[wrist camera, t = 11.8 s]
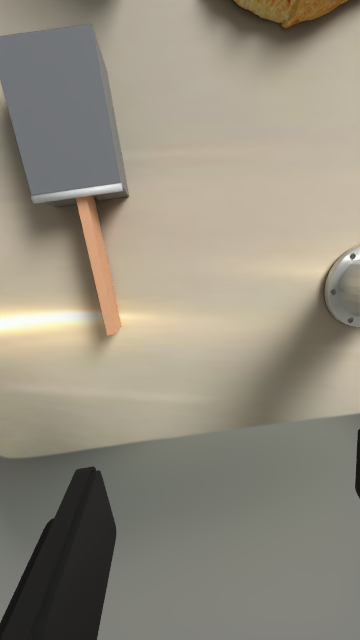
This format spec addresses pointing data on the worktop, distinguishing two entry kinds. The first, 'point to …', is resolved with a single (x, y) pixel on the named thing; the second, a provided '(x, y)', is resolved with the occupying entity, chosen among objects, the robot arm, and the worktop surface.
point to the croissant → (289, 9)
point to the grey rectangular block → (62, 114)
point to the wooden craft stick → (99, 263)
